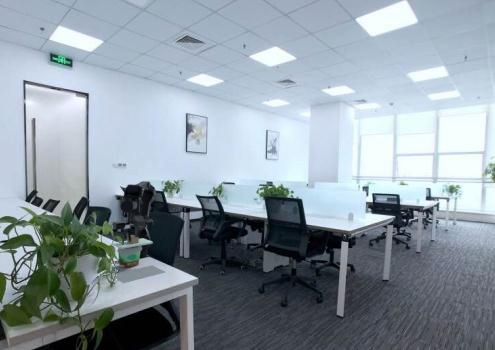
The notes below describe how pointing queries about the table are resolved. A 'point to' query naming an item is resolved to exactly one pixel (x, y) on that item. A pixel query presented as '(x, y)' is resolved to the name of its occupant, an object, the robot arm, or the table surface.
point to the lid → (132, 242)
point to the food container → (129, 256)
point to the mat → (138, 273)
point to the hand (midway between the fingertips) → (132, 241)
